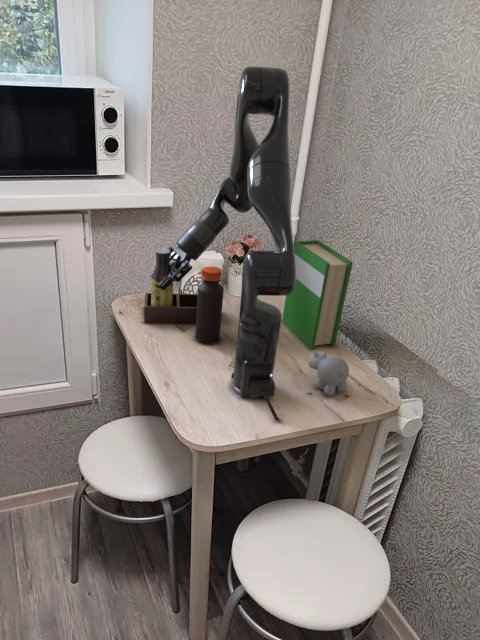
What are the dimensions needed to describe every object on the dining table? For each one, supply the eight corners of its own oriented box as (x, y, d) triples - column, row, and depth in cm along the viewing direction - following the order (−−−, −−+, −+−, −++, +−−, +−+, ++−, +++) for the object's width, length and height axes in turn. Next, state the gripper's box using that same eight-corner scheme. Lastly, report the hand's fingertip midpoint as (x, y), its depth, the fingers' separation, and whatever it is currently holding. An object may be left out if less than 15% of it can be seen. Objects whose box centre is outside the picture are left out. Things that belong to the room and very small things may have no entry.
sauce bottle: (148, 312, 157) (147, 247, 146) (167, 309, 159) (168, 245, 148) (156, 321, 152) (155, 255, 141) (175, 318, 154) (177, 252, 143)
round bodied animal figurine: (321, 369, 134) (327, 339, 129) (350, 393, 124) (358, 363, 120) (297, 374, 131) (302, 344, 126) (325, 399, 122) (332, 368, 117)
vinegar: (206, 347, 140) (211, 276, 130) (190, 337, 145) (193, 268, 134) (224, 340, 144) (230, 270, 133) (208, 330, 148) (212, 263, 138)
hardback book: (334, 346, 144) (352, 262, 131) (310, 349, 142) (326, 264, 129) (304, 318, 158) (318, 240, 145) (282, 320, 156) (294, 241, 143)
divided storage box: (211, 324, 152) (212, 308, 149) (144, 323, 151) (144, 307, 148) (208, 309, 160) (209, 294, 158) (145, 308, 159) (145, 292, 157)
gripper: (179, 223, 150) (139, 267, 152) (198, 238, 139) (156, 285, 141) (195, 240, 155) (157, 282, 157) (215, 256, 144) (174, 301, 146)
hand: (156, 283), depth 149 cm, fingers closed on sauce bottle, 6 cm apart
